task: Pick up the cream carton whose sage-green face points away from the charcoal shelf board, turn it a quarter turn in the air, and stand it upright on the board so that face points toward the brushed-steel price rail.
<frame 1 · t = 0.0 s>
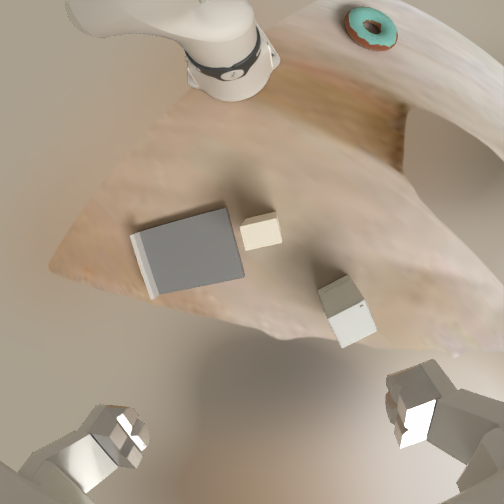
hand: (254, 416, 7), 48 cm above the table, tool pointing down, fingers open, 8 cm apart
shelf: (189, 252, 57), on the table
carton: (263, 224, 54), on the table
supplement box: (338, 295, 57), on the table
donut: (368, 32, 42), on the table
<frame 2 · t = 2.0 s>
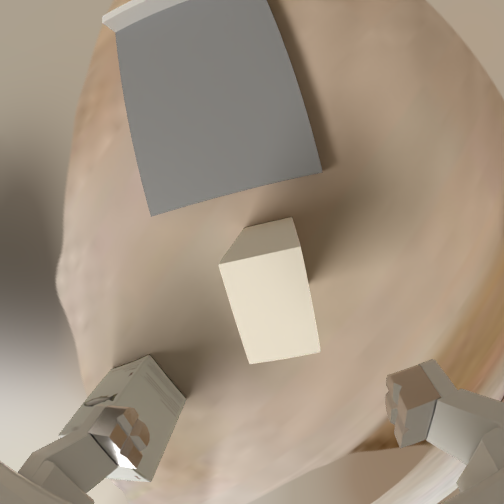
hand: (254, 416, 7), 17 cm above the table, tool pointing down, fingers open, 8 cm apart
shelf: (206, 81, 20), on the table
carton: (276, 257, 24), on the table
supplement box: (147, 382, 29), on the table
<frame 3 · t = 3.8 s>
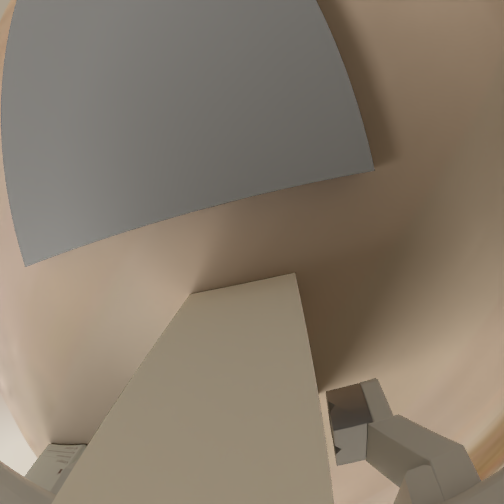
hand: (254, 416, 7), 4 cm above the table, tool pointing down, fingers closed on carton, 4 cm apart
shelf: (126, 8, 8), on the table
carton: (259, 351, 11), on the table, touching gripper
supplement box: (93, 466, 16), on the table
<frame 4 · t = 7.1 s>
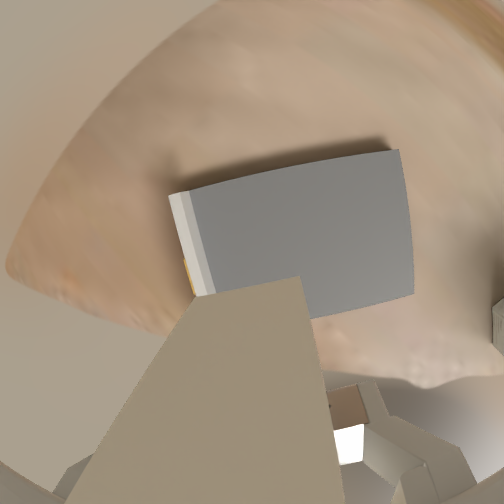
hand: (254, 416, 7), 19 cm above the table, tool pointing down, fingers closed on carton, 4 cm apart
shelf: (306, 242, 26), on the table
carton: (264, 354, 11), point 16 cm above the table, touching gripper
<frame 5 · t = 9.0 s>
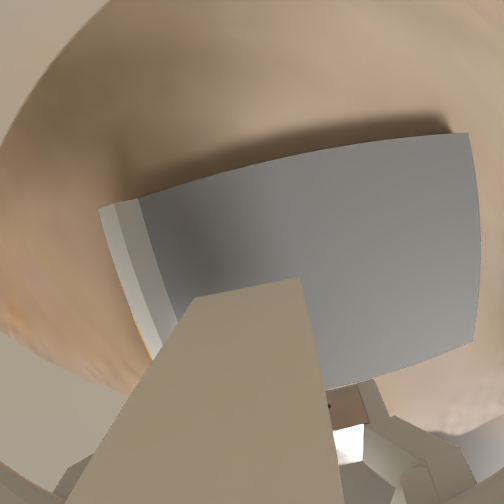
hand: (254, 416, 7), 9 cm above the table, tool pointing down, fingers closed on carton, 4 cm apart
shelf: (331, 278, 16), on the table
carton: (263, 354, 11), point 6 cm above the table, touching gripper
when the fingers open (7 cm above the table, at t = 10.3 s): carton drops 1 cm, resting on shelf.
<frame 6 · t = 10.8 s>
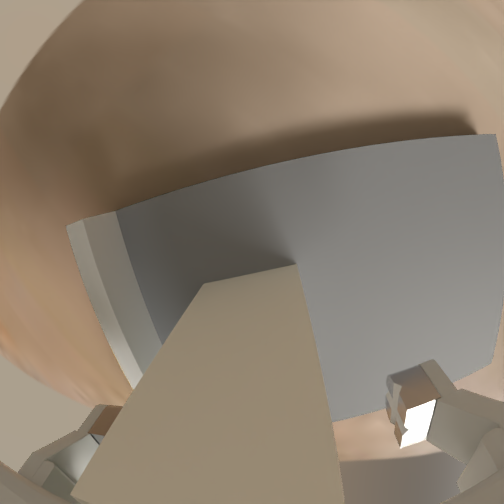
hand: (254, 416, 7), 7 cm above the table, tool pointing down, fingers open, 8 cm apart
shelf: (342, 302, 13), on the table
carton: (265, 335, 12), point 1 cm above the table, touching shelf
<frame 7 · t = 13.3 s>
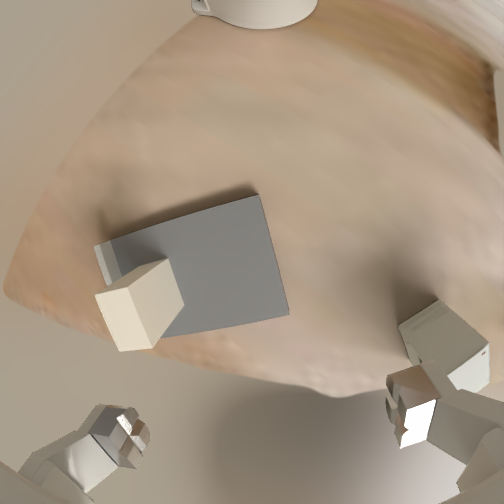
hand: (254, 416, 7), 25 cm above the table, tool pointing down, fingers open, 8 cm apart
shelf: (193, 274, 34), on the table
carton: (161, 285, 33), point 1 cm above the table, touching shelf
supplement box: (423, 330, 33), on the table
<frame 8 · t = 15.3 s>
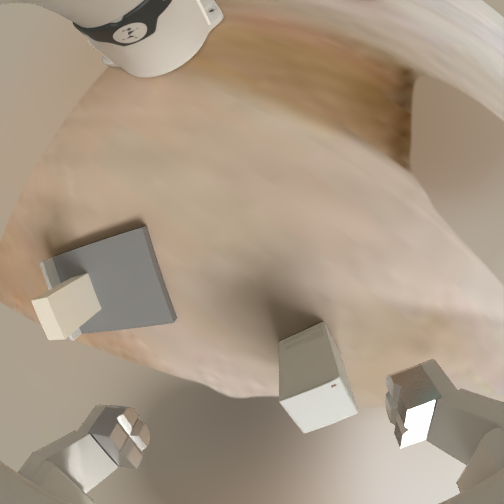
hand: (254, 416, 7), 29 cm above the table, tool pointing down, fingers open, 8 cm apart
shelf: (107, 285, 39), on the table
carton: (86, 293, 39), point 1 cm above the table, touching shelf
supplement box: (310, 348, 39), on the table
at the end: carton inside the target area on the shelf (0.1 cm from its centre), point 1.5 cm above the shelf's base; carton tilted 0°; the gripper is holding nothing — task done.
